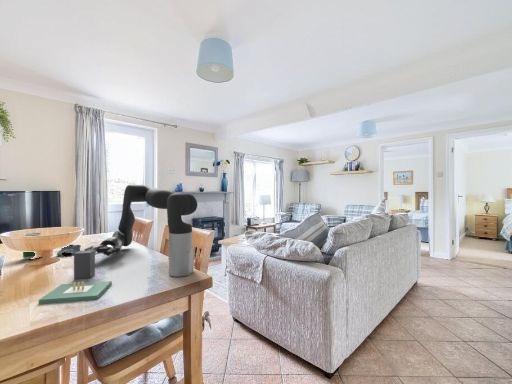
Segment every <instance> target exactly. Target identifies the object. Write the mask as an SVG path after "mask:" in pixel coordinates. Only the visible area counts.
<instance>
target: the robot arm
mask: <svg viewBox="0 0 512 384" xmlns="http://www.w3.org/2000/svg"><path fill="white" fill-rule="evenodd" d="M132 203H146V204H147V205H148V206H150V207H152V208H156V209H161V210H166V214H167V227H168V275H169V276H170V277H176V278H179V277H180V278H181V277H185V276H187V277H189V276H190V275H191V274H192V273H193V272H194V256H195V255H194V248H193V226H192V224H191V223H187V222H184V221H183V218H182V216H188V215H189V216H190V215H191V214H193V213H195V212H196V210H197V209H198V201H197V199H196V197H195V196H194V195H193V194H191V193H183V192H182V193H177V192H175V191H170V190H167V189H162V188H160V187H159V188H157V187H150V186H148V185H146V184H145V185H144V184H128V185H126V187H125V189H124V194H123V199H122V209H121V218H120V220H119V224H118V230H117V231H116V230H115V232H113V234H112V237H108V238H107V239H104V240H103V241H102V242H100V244H99V245H97V246H88V247H87V248H84V249H83V251H88V250H95V256H96V255H100V254H101V255H102V254H103V255H104V256H107V257H110V256H111V255H114V254H120V253H121V252H122V248H123V247H129V246H130V245H131V244H132V242H133V228H134V224H135V221H136V218H135V214H134V212H133V210H132Z"/></svg>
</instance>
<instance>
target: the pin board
mask: <svg viewBox="0 0 512 384" xmlns="http://www.w3.org/2000/svg"><path fill="white" fill-rule="evenodd" d="M112 284H113V281H111V280H106V281H92V282H91V281H90V282H85V281H81V282H80V281H77V283H76V281H74V282H72V283H62V284H59V286H57V287H56V288H54V289H52V290H51V291H50V292H48V293H46V294H45V295H43V296H42V297H41V298H39V299H38V305H39V304H40V305H42V304H52V303H55V304H56V303H64V302H78V301H89V300H91V301H92V300H98V299H99V298H100V297H101V296H102V295H103V294H104V293H105V292H106V291H107V290H108V289H109V288H110V287H111V286H112Z"/></svg>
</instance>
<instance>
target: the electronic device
mask: <svg viewBox="0 0 512 384" xmlns="http://www.w3.org/2000/svg"><path fill="white" fill-rule="evenodd" d="M66 246H67V245H66ZM81 247H82V246H81V244H69V245H68V246H67V247H64V248H62V247H61V249H60V250H59V251H57V252H56V255H57V256H58V257H60V256H61V257H60V258H62V257H63V258H65V257H72V256H73V257H74V253H76V252H78V251H81ZM64 252H65V253H66V255H67V254H68V255H67V256H64V254H65V253H64ZM62 253H64V254H62Z"/></svg>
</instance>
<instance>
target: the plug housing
mask: <svg viewBox="0 0 512 384" xmlns="http://www.w3.org/2000/svg"><path fill="white" fill-rule="evenodd" d="M95 274H96V255H95V250H88V251H84V250H80V251H78V252H76V253H74V255H73V280H85V279H91V278H93V277H94V276H96V275H95Z"/></svg>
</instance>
